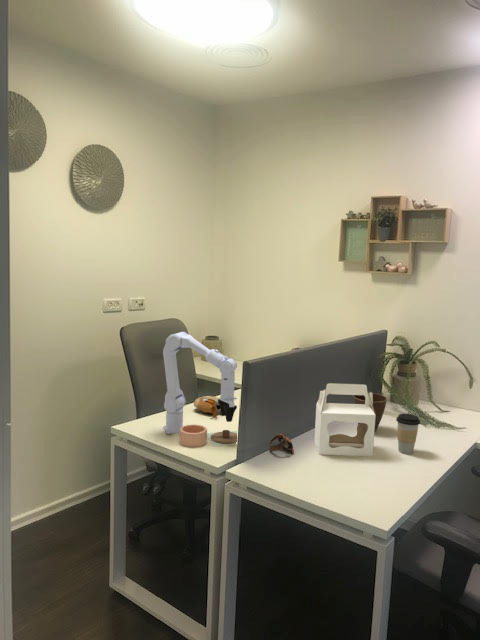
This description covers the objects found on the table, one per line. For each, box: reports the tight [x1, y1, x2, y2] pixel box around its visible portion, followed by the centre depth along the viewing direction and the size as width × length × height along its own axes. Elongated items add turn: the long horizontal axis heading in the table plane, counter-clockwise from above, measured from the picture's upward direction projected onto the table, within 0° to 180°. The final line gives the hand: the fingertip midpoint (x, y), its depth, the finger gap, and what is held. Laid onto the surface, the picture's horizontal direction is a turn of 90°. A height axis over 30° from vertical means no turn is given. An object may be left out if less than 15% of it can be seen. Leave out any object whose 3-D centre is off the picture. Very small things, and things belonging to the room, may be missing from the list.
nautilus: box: [193, 395, 221, 420], centre depth 249 cm, size 8×22×15 cm
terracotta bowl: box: [179, 424, 208, 448], centre depth 210 cm, size 11×11×6 cm
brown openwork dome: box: [268, 432, 295, 455], centre depth 206 cm, size 12×10×8 cm
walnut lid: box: [211, 429, 237, 444], centre depth 216 cm, size 13×13×3 cm
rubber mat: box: [207, 430, 238, 447], centre depth 216 cm, size 15×15×1 cm
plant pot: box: [353, 392, 388, 433], centre depth 233 cm, size 15×15×16 cm
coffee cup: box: [395, 413, 421, 455], centre depth 209 cm, size 9×9×15 cm
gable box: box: [313, 382, 376, 457], centre depth 208 cm, size 22×13×28 cm, turn 90°
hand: (226, 418), depth 215 cm, fingers open, 7 cm apart
